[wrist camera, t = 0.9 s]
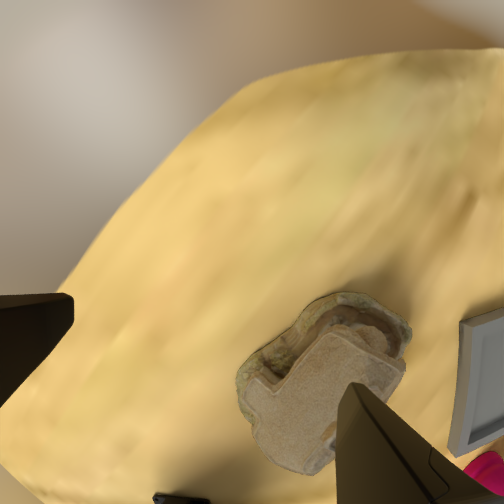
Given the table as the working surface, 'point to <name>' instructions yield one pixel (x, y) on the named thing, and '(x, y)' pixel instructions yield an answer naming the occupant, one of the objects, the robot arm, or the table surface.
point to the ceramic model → (319, 376)
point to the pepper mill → (488, 472)
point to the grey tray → (479, 384)
